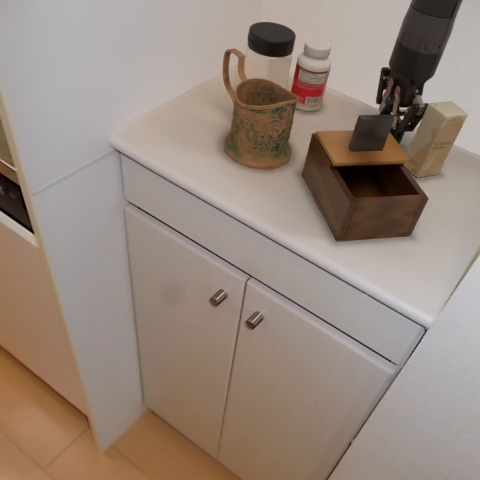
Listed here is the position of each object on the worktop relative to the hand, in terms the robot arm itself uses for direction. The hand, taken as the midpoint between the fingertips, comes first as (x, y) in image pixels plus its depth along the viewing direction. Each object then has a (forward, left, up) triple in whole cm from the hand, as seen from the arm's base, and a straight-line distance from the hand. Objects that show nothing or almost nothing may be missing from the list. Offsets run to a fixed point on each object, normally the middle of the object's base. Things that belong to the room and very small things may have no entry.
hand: (384, 139), depth 94 cm
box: (-3, +9, 0) cm, 9 cm away
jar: (+19, -15, 0) cm, 24 cm away
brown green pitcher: (+25, -2, 0) cm, 25 cm away
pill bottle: (+11, -13, 0) cm, 17 cm away
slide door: (+13, +14, +7) cm, 21 cm away
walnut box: (+13, +17, 0) cm, 21 cm away
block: (0, 0, 0) cm, 0 cm away
